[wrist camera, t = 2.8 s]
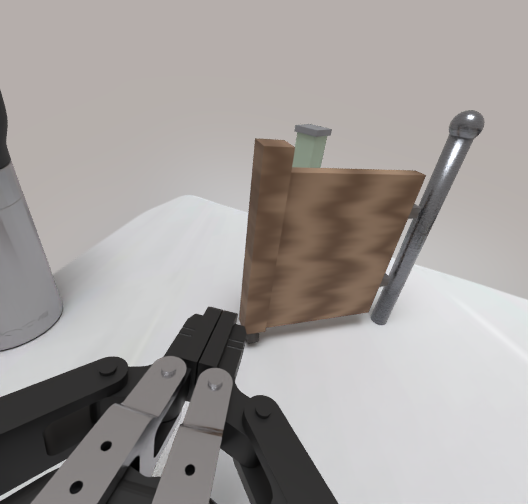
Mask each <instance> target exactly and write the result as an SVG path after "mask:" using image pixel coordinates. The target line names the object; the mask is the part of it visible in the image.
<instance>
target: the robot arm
mask: <svg viewBox="0 0 528 504" xmlns="http://www.w3.org/2000/svg"><path fill="white" fill-rule="evenodd" d="M7 126H8V125H7V114H6V109H5V105H4V101H3V98H2V94H1V91H0V350H5V349H9V348H12V347H15V346H18V345H21V344H23V343H26V342H28V341H30V340H32V339H34V338H36V337H37V336H39V335H40V334H42V333H44V332H45V331H46V330H47V329H49V328H50V327H51V326H52V325H53V324H54V323H55V322H56V321H57V320H58V318H59V316H60V315H61V313H62V309H63V305H62V301H61V298H60V295H59V292H58V290H57V287H56V284H55V281H54V278H53V275H52V272H51V269H50V267H49V264H48V261H47V258H46V255H45V253H44V250H43V247H42V244H41V242H40V239H39V236H38V234H37V230H36V228H35V225H34V222H33V219H32V216H31V214H30V211H29V208H28V206H27V203H26V200H25V197H24V194H23V191H22V190H21V186H20V184H19V181H18V178H17V175H16V173H15V170H14V167H13V164H12V161H11V158H10V155H9V152H8V149H7V145H6V136H7ZM237 316H238V314H237V313H233V312H229V311H225V310H224V311H223V310H221V309H217V308H213V307H208V308H207V310H206V312H205V313H204V315H199V314H195V315H193V316H191V317H190V318H188V319H187V321H186V322H185V324H184V325H183V328H182V329H181V330H180V332H179V334H178V335H177V336H176V338H175V340H174V341H173V343H172V344H171V346H170V347H169V349H168V350H167V352H166V354H165V355H164V357H162V358H160V359H158V360H157V361H155V362H154V363H153V364H152V365H149V366H141V367H128V364H127V362H126V361H125V360H124V359H122V358H119V357H106V358H102V359H100V360H97V361H94V362H92V363H89V364H87V365H84V366H81V367H79V368H76V369H73V370H71V371H68V372H66V373H63V374H60V375H58V376H55V377H52V378H50V379H47V380H45V381H42V382H39V383H37V384H34V385H31V386H29V387H26V388H23V389H21V390H18V391H16V392H13V393H10V394H8V395H5V396H2V397H0V496H1V495H3V494H4V493H6V492H8V491H10V490H12V489H13V488H15V487H17V486H19V485H21V484H22V483H24V482H26V481H28V480H30V479H31V478H33V477H35V476H37V475H38V474H40V473H42V472H44V471H46V470H47V469H49V468H51V467H53V466H55V465H56V464H58V463H60V462H62V461H64V460H65V459H67V460H66V461H65V462H64V463H63V465H62V466H61V467H60V468H58V469H56V470H53V471H51V472H49V473H47V474H46V475H44V476H42V477H40V478H39V479H37V480H35V481H34V482H32V483H30V484H29V485H27V486H25V487H24V488H22V489H20V490H18V491H17V492H15V493H13V494H12V495H10V496H8V497H7V498H5V499H3V500H2V501H0V504H217V503H216V502H214V501H213V500H212V499H211V498H210V494H211V489H212V484H213V480H214V475H215V470H216V465H217V460H218V455H219V450H220V448H221V449H222V450H223V451H225V452H226V453H227V454H229V455H230V456H231V457H233V461H234V464H235V467H236V469H237V471H238V474H239V476H240V479H241V481H242V484H243V486H244V489H245V491H246V494H247V496H248V499H249V501H250V503H251V504H338V502H337V501H336V499H335V497H334V496H333V494H332V492H331V491H330V489H329V488H328V486H327V484H326V483H325V481H324V479H323V478H322V476H321V474H320V473H319V471H318V470H317V468H316V466H315V465H314V463H313V461H312V460H311V458H310V457H309V455H308V453H307V452H306V450H305V448H304V447H303V445H302V443H301V442H300V440H299V439H298V437H297V435H296V434H295V432H294V430H293V429H292V427H291V426H290V424H289V422H288V421H287V419H286V417H285V416H284V414H283V413H282V411H281V409H280V408H279V406H278V405H277V403H276V402H275V401H274V400H273V399H271V398H269V397H267V396H263V395H257V396H254V397H251V398H249V397H248V396H246V395H245V394H243V393H242V392H241V391H240V390H239V389H238V388H237V386H236V384H235V379H236V376H237V372H238V369H239V366H240V362H241V359H242V355H243V350H244V346H245V341H246V336H247V333H246V329H245V326H241V325H238V324H236V322H237ZM185 401H189V402H190V404H189V407H188V410H187V412H186V415H185V418H184V421H183V423H182V424H180V426H179V428H178V431H177V434H176V436H175V439H174V442H173V445H172V448H171V451H170V453H169V456H168V459H167V462H166V465H165V467H164V470H163V473H162V476H161V477H152V475H153V471H154V468H155V466H156V464H157V462H158V460H159V458H160V456H161V454H162V452H163V450H164V448H165V446H166V445H167V443H168V441H169V439H170V437H171V435H172V433H173V431H174V430H175V428H176V426H177V424H178V422H179V420H180V418H181V413H182V407H183V405H184V403H185Z"/></svg>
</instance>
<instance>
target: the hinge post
mask: <svg viewBox="0 0 528 504" xmlns="http://www.w3.org/2000/svg"><path fill="white" fill-rule="evenodd" d="M483 127H484V118H483V116H482V115H481V114H480V113H479V112H477V111H473V110H468V111H464V112H461V113H460V114H458V115H457V116H455V117H454V119H453V120H452V121H451V123H450V126H449V133H450V134H449V137H448V139H447V141H446V144H445V146H444V149H443V151H442V153H441V155H440V158H439V160H438V162H437V165H436V167H435V169H434V172H433V174H432V176H431V179H430V181H429V184H428V185H427V188H426V190H425V192H424V195H423V197H422V199H421V202H420V204H419V207H421V209H420V212H419V214H418V216H417V218H414V219H413V220H412V222H411V225H410V227H409V229H408V232H407V234H406V236H405V239H404V241H403V243H402V246H401V248H400V250H399V253H398V255H397V257H396V260H395V262H394V264H393V267H392V269H391V271H390V273H389V277H390V280H389V282H388V285H387V286H384V287H383V290H382V292H381V294H380V297H379V299H378V301H377V304H376V306H375V308H374V311H373V313H372V315H371V319H372V320H373V321H374V322H375V323H377V324H379V325H384V324H386V322H387V320H388V317H389V315H390V313H391V311H392V309H393V307H394V305H395V303H396V301H397V299H398V297H399V294H400V292H401V290H402V288H403V286H404V284H405V282H406V280H407V278H408V276H409V274H410V271H411V269H412V267H413V265H414V263H415V261H416V258H417V257H418V254H419V253H420V251H421V248H422V246H423V244H424V242H425V240H426V238H427V236H428V234H429V232H430V230H431V227H432V225H433V223H434V221H435V219H436V217H437V215H438V213H439V211H440V209H441V206H442V204H443V202H444V200H445V198H446V196H447V194H448V192H449V190H450V188H451V185H452V184H453V181H454V179H455V177H456V175H457V173H458V171H459V169H460V167H461V165H462V162H463V161H464V158H465V156H466V154H467V152H468V150H469V148H470V146H471V144H472V142H473V139H474V138H475V137H477V136H478V135H479V134H480V133H481V131H482V130H483Z"/></svg>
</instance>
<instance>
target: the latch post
mask: <svg viewBox="0 0 528 504" xmlns="http://www.w3.org/2000/svg"><path fill="white" fill-rule="evenodd" d="M295 131H296V132H297V138H296V144H295V152H294V158H293V164H292V167H301V168H320V167H321V163H322V158H323V153H324V149H325V144H326V140H327V136H329V135H331V131H332V130H331V129H329V128H324V127H320V126H316V125H311V124H306V125H296V126H295Z"/></svg>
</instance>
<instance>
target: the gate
mask: <svg viewBox="0 0 528 504" xmlns="http://www.w3.org/2000/svg"><path fill="white" fill-rule="evenodd" d="M294 152H295V147H294V146H292V145H291V144H289V143H288V142H286V141H285V140H272V139H255V146H254V158H253V169H252V180H251V192H250V202H249V213H248V225H247V236H246V247H245V258H244V269H243V280H242V292H241V303H240V314H239V320H240V323H241V326H245V329H246V333H247V336H246V340H247V342H248V343H253V342H258V339H259V332H265V330H266V328H268V327H275V326H282V325H288V324H295V323H301V322H308V321H315V320H321V319H328V318H334V317H341V316H348V315H354V314H361V313H367V312H369V310H370V308H371V305H372V303H373V300H374V298H375V296H376V293H377V291H378V289H379V287H381V286H387V285H388V282H389V280H390V277H389V276H388V275H387V274H386V273H385V272H386V269H387V267H388V265H389V262H390V260H391V258H392V255H393V253H394V250H395V248H396V246H397V243H398V241H399V238H400V236H401V234H402V231H403V229H404V227H405V224H406V222H407V220H408V219H412V218H413V219H414V218H417V216H418V214H419V212H420V209H421V207H419V206H417V205H415V204H414V203H415V200H416V198H417V196H418V193H419V191H420V189H421V186H422V184H423V181H424V179H425V177H426V175H424V174H422V173H419V172H417V171H410V170H407V171H406V170H374V169H373V170H372V169H337V168H301V167H292V164H293V158H294Z"/></svg>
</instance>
